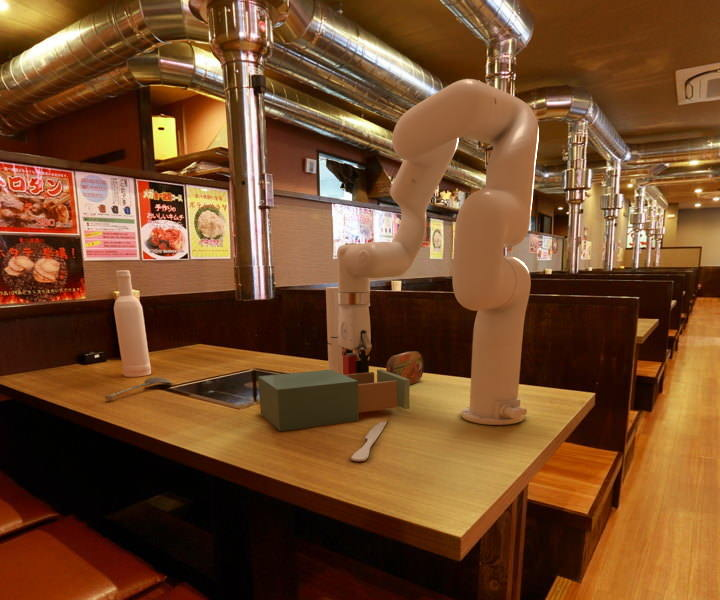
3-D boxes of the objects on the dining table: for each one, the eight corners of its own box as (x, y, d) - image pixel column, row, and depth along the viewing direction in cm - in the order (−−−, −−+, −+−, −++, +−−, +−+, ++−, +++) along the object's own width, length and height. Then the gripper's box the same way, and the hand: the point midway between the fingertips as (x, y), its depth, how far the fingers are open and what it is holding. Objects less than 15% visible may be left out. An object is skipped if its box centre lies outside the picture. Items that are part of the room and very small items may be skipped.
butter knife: (347, 458, 90) (365, 459, 90) (377, 420, 113) (391, 420, 112) (347, 461, 91) (365, 462, 90) (377, 422, 113) (391, 422, 112)
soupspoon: (178, 387, 153) (159, 386, 155) (176, 374, 152) (157, 374, 154) (118, 402, 133) (97, 401, 135) (115, 388, 132) (94, 387, 135)
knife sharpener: (367, 393, 138) (367, 353, 135) (349, 396, 136) (348, 355, 133) (361, 391, 141) (361, 351, 138) (343, 393, 139) (342, 353, 136)
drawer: (386, 395, 132) (386, 368, 130) (414, 408, 120) (414, 378, 118) (319, 403, 125) (318, 375, 123) (342, 417, 113) (341, 386, 111)
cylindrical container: (345, 386, 147) (343, 288, 139) (323, 383, 150) (320, 287, 142) (360, 381, 152) (358, 286, 144) (338, 379, 156) (336, 286, 148)
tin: (394, 390, 141) (394, 357, 139) (383, 388, 143) (383, 356, 141) (424, 380, 153) (425, 349, 150) (414, 379, 155) (415, 348, 152)
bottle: (145, 377, 164) (130, 270, 155) (119, 377, 164) (102, 270, 155) (155, 372, 172) (141, 270, 162) (130, 372, 172) (115, 270, 162)
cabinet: (332, 405, 127) (331, 369, 125) (358, 420, 114) (358, 380, 112) (260, 414, 121) (257, 376, 118) (279, 431, 108) (277, 389, 105)
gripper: (326, 299, 137) (328, 370, 143) (354, 302, 122) (355, 381, 128) (354, 297, 140) (355, 367, 146) (384, 301, 125) (385, 378, 131)
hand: (355, 373), depth 137 cm, fingers open, 7 cm apart
